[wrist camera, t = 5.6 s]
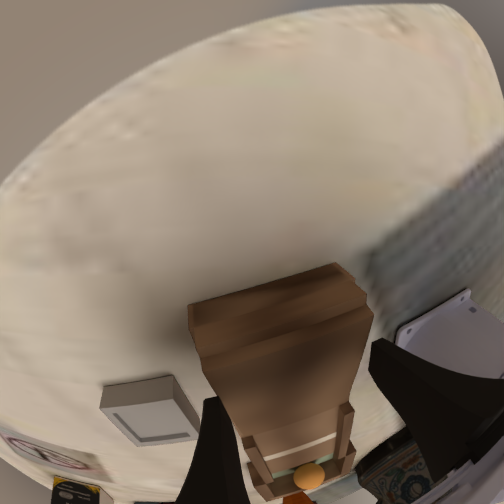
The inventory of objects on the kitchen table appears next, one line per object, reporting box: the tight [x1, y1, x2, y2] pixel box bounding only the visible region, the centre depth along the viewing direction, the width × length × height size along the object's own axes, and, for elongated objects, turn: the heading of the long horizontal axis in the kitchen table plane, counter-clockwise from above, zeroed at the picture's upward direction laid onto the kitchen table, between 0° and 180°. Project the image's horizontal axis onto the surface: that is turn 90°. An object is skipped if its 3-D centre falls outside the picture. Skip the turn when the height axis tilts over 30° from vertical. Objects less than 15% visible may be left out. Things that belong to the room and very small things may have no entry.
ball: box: [293, 463, 325, 489], centre depth 22 cm, size 4×4×4 cm
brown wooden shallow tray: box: [188, 262, 374, 502], centre depth 17 cm, size 10×28×4 cm, turn 11°
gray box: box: [99, 375, 200, 447], centre depth 14 cm, size 5×5×2 cm
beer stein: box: [355, 427, 453, 504], centre depth 20 cm, size 16×19×25 cm
